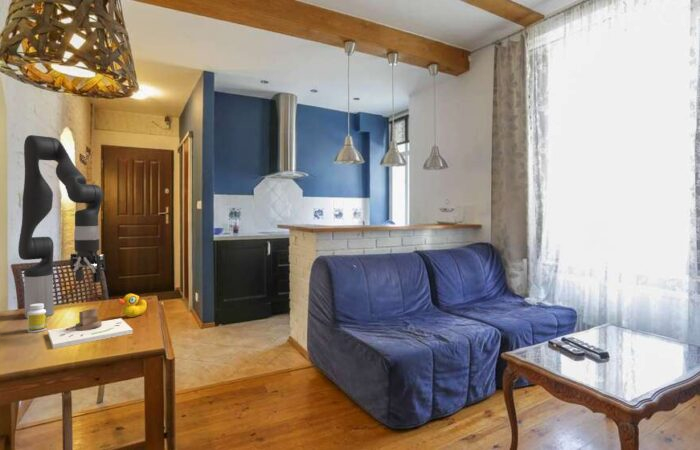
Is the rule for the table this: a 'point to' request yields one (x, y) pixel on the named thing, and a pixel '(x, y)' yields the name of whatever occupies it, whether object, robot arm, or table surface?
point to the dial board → (88, 333)
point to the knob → (87, 320)
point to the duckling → (132, 305)
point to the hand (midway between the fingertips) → (87, 281)
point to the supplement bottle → (37, 318)
